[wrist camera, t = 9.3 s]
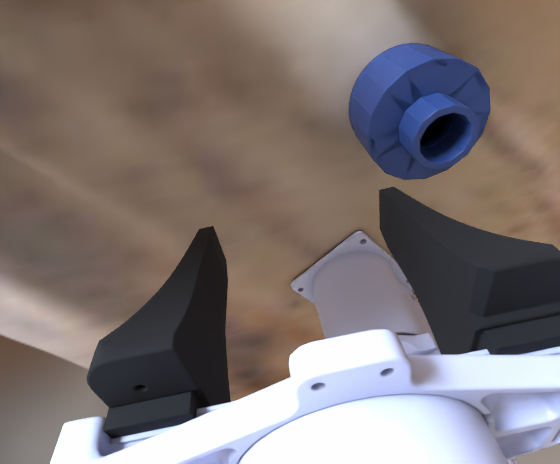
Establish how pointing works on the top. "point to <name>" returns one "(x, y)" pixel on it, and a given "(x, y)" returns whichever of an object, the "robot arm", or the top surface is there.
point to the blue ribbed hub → (418, 110)
